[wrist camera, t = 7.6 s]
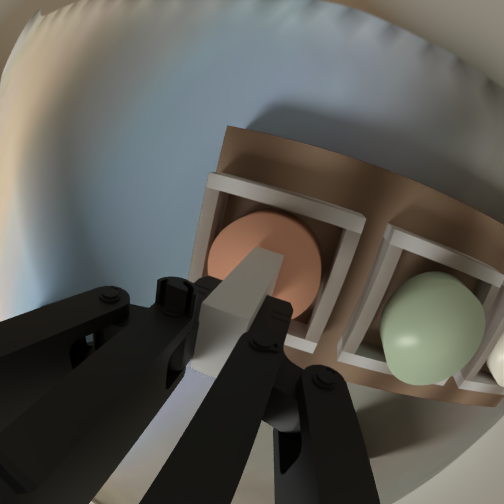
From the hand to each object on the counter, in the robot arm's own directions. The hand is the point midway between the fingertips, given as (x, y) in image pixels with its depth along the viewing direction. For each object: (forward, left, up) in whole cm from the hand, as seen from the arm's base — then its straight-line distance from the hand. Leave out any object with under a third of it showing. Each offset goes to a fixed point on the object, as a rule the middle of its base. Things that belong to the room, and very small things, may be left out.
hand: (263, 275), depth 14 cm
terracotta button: (0, 0, -3) cm, 3 cm away
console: (+10, 0, -6) cm, 11 cm away
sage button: (+10, 0, -1) cm, 10 cm away
